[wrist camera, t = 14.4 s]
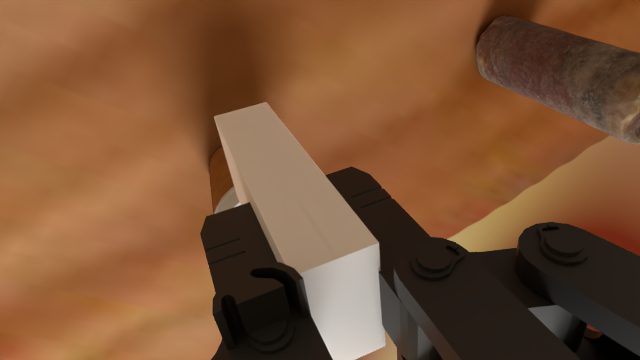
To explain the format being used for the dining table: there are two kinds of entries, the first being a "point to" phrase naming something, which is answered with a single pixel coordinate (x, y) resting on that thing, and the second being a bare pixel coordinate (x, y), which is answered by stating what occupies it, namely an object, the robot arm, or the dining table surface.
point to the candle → (565, 73)
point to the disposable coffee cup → (221, 183)
